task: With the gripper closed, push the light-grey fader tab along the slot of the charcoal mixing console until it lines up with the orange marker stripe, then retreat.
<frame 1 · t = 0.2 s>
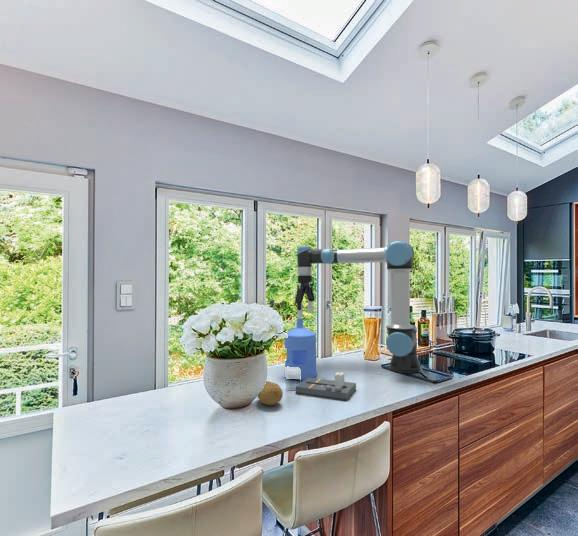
hand: (305, 314, 193), 28 cm above the worktop, fingers open, 13 cm apart
fader: (339, 382, 150), point 5 cm above the worktop, slide at -6.0 cm
water jug: (300, 376, 176), on the worktop
potato: (269, 404, 140), on the worktop
console: (326, 391, 153), on the worktop
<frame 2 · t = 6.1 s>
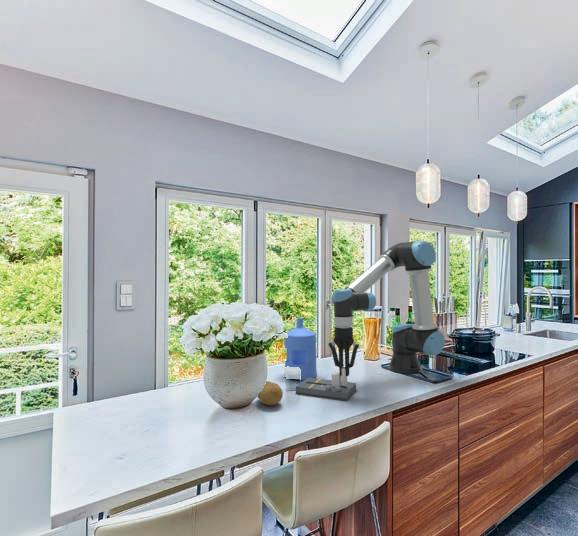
hand: (344, 383, 149), 4 cm above the worktop, fingers closed
fader: (336, 381, 151), point 5 cm above the worktop, slide at -4.7 cm, touching gripper
everything else where it was.
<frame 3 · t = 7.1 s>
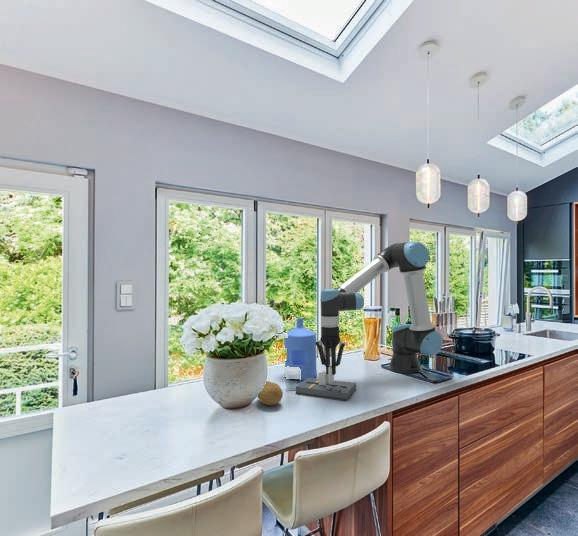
hand: (331, 381, 152), 4 cm above the worktop, fingers closed
fader: (323, 380, 153), point 5 cm above the worktop, slide at 1.1 cm, touching gripper
everything else where it was.
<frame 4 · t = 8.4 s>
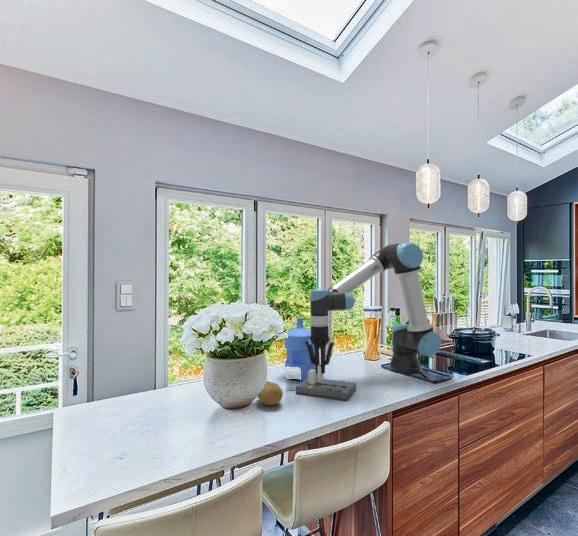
hand: (320, 380, 154), 4 cm above the worktop, fingers closed
fader: (313, 379, 155), point 5 cm above the worktop, slide at 5.8 cm, touching gripper
everything else where it was.
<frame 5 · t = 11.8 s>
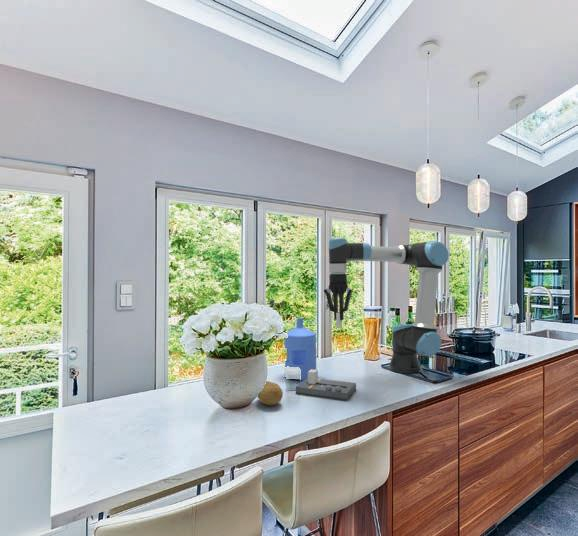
hand: (339, 327, 157), 26 cm above the worktop, fingers closed
fader: (313, 379, 155), point 5 cm above the worktop, slide at 5.9 cm
everything else where it was.
at the end: fader slide at 5.9 cm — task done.
